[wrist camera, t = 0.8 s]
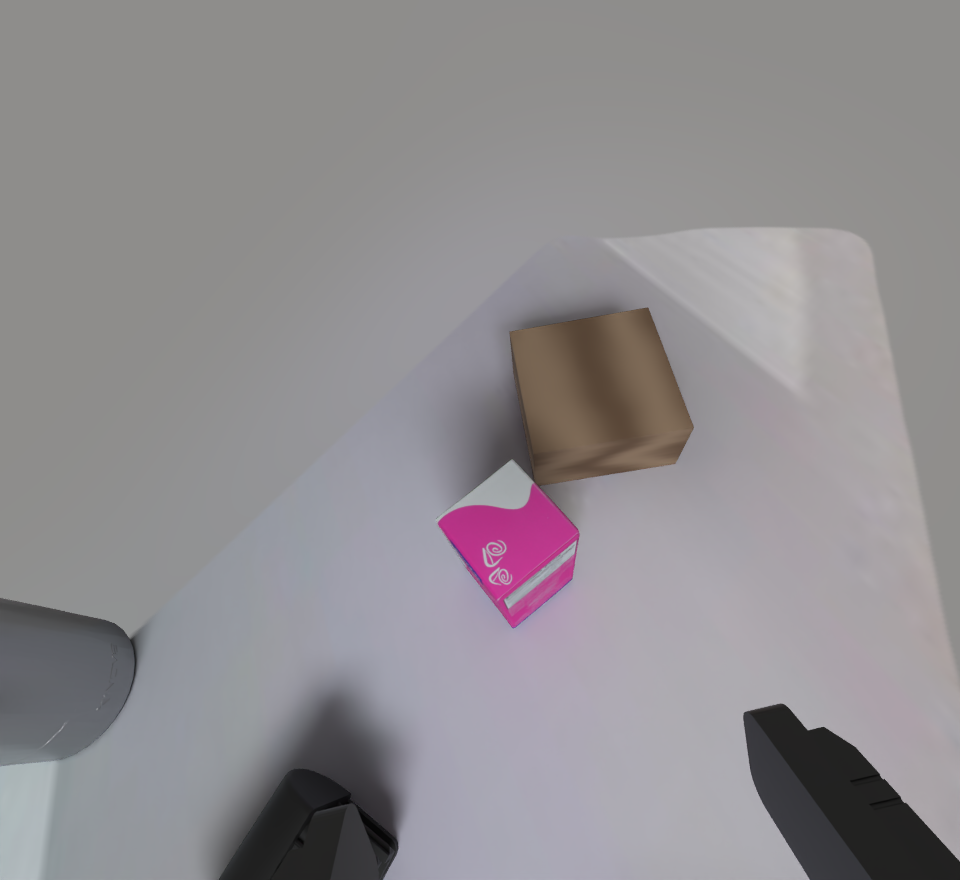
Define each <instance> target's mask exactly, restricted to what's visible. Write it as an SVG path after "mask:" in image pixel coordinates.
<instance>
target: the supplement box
mask: <svg viewBox="0 0 960 880" xmlns="http://www.w3.org/2000/svg"><path fill="white" fill-rule="evenodd" d="M436 522H437V524H438V526H439V527H440V529H441V530H442V532H443V533H444V535H445V537H446V538H447V540H448V541H449V543H450V545H451V546H452V548H453V549H454V551H455V552H456V554H457V555H458V557H459V558H460V560H461V562H462V563H463V564H464V566H465V567H466V569H467V570H468V571H469V572H470V574H471V575H472V576H473V577H474V579H475V580H476V581H477V583H478V584H479V585H480V586H481V588H482V589H483V590H484V592H485V593H486V594H487V595H488V597H489V598H490V599H491V600H492V602H493V603H494V604H495V606H496V607H497V608H498V609H499V611H500V612H501V613H502V615H503V616H504V617H505V619H506V620H507V621H508V623H509V624H510V625H511V627H512V628H515V627H516V626H518V625H519V624H520V623H521V622H522V621H524V620H525V619H526V618H527V617H528V616H529V615H531V614H532V613H533V612H534V611H535V610H537V609H538V608H539V607H540V606H541V605H543V604H544V603H545V602H546V601H547V600H549V599H550V598H551V597H552V596H553V595H554V594H556V593H557V592H558V591H559V590H560V589H561V588H563V587H564V586H565V585H566V584H567V583H568V582H569V581H571V580H572V577H573V570H574V565H575V558H576V551H577V545H578V540H579V534H580V533H579V531H578V529H577V528H576V527H575V525H574V524H573V523H572V522H571V521H570V520H569V519H568V518H567V517H566V515H565V514H564V513H563V512H562V511H561V510H560V509H559V508H558V507H557V506H556V504H555V503H554V502H553V501H552V500H551V499H550V498H549V497H548V496H547V495H546V494H545V493H544V492H543V491H542V490H541V488H540V487H539V486H538V485H537V484H536V483H535V482H534V481H533V480H532V479H531V478H530V477H529V476H528V475H527V474H526V473H525V472H524V471H523V469H522V468H521V467H520V466H519V465H518V464H517V463H516V462H515V461H514V460H513V459H511V460H510V461H509V462H507V463H506V464H505V465H504V466H502V467H501V468H500V469H499V470H497V471H496V472H495V473H494V474H492V475H491V476H490V477H489V478H487V479H486V480H485V481H484V482H482V483H481V484H480V485H479V486H477V487H476V488H475V489H474V490H472V491H471V492H470V493H469V494H467V495H466V496H465V497H463V498H462V499H461V500H460V501H458V502H457V503H456V504H454V505H453V506H452V507H450V508H449V509H448V510H446V511H445V512H444V513H443V514H441V515H440V516H439V517H437V518H436Z"/></svg>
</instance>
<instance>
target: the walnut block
mask: <svg viewBox="0 0 960 880" xmlns="http://www.w3.org/2000/svg"><path fill="white" fill-rule="evenodd" d="M510 342H511V352H512V362H513V372H514V378H515V383H516V389H517V394H518V399H519V404H520V409H521V415H522V420H523V425H524V430H525V435H526V441H527V446H528V451H529V456H530V461H531V466H532V472H533V477H534V482H535V483H536V484H537V485H538V486H541V485H547V484H553V483H559V482H566V481H572V480H578V479H584V478H590V477H597V476H603V475H609V474H615V473H621V472H628V471H634V470H640V469H646V468H652V467H659V466H665V465H671V464H675V463H676V461H677V459H678V457H679V456H680V454H681V452H682V450H683V448H684V446H685V444H686V442H687V440H688V438H689V436H690V434H691V432H692V430H693V428H694V427H693V424H692V421H691V419H690V416H689V413H688V411H687V408H686V406H685V403H684V400H683V398H682V395H681V392H680V390H679V387H678V385H677V382H676V379H675V377H674V374H673V371H672V369H671V366H670V364H669V361H668V358H667V356H666V353H665V350H664V348H663V345H662V343H661V340H660V337H659V335H658V332H657V329H656V327H655V324H654V322H653V319H652V316H651V314H650V311H649V308H643V309H637V310H631V311H626V312H620V313H614V314H608V315H603V316H597V317H591V318H585V319H580V320H574V321H568V322H562V323H557V324H551V325H545V326H540V327H534V328H528V329H522V330H517V331H511V332H510Z"/></svg>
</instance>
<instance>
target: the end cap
mask: <svg viewBox="0 0 960 880" xmlns="http://www.w3.org/2000/svg"><path fill="white" fill-rule="evenodd" d="M350 796H351V793H349V792H348V791H347V790H345V789H344V788H343V787H341V786H340V785H339V784H337V783H336V782H334V781H332V780H331V779H329V778H327V777H325V776H323V775H321V774H319V773H316V772H314V771H310V770H306V769H294V770H291V771H289V772H288V773H287V775H286V776H285V777H284V779H283V780H282V782H281V783H280V785H279V787H278V788H277V790H276V791H275V793H274V794H273V796H272V797H271V799H270V801H269V802H268V804H267V805H266V807H265V808H264V810H263V811H262V813H261V815H260V816H259V818H258V819H257V821H256V822H255V824H254V825H253V827H252V828H251V830H250V832H249V833H248V835H247V836H246V838H245V839H244V841H243V842H242V844H241V846H240V847H239V849H238V850H237V852H236V853H235V855H234V856H233V858H232V859H231V861H230V863H229V864H228V866H227V867H226V869H225V870H224V872H223V873H222V875H221V877H220V878H219V880H271V879H272V878H273V876H274V874H275V873H276V871H277V870H278V868H279V866H280V865H281V863H282V862H283V860H284V859H285V857H286V855H287V854H288V852H289V851H290V850H295V849H299V848H303V845H304V842H305V838H306V835H307V831H308V828H309V824H310V821H311V819H312V816H313V815H314V813H316V812H317V811H321V810H326V809H330V808H334V807H338V806H343V805H347V804H351V803H352V804H354V805H355V806H356V808H357V810H358V812H359V815H360V817H361V820H362V822H363V825H364V828H365V830H366V833H367V835H368V838H369V840H370V843H371V845H372V848H373V850H374V853H375V856H376V859H377V864H378V871H379V880H383V878H384V877H385V875H386V873H387V871H388V869H389V867H390V865H391V864H392V862H393V860H394V858H395V856H396V854H397V851H398V842H397V841H396V839H395V838H394V837H393V836H392V835H391V834H390V833H389V832H388V831H386V830H385V829H384V828H383V827H382V826H381V825H379V824H378V823H377V822H376V821H375V820H373V819H372V818H371V817H370V816H369V815H368V814H366V813H365V812H364V811H363V810H362V809H361V808H359V807H358V806H357V805H356V804H355V803H354V802H352V801H351V800H350V799H349V798H350Z"/></svg>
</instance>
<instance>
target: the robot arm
mask: <svg viewBox="0 0 960 880" xmlns="http://www.w3.org/2000/svg"><path fill="white" fill-rule="evenodd" d="M134 665H135V660H134V651H133V647H132V644H131V642H130V639H129V637H128V636H127V635H126V634H125V632H124V630H122V629H121V628H120V627H119V626H117V625H116V624H115V623H112V622H109V621H106V620H102V619H97V618H93V617H88V616H83V615H78V614H73V613H69V612H65V611H60V610H56V609H50V608H46V607H41V606H37V605H31V604H27V603H22V602H17V601H12V600H7V599H3V598H0V766H6V765H16V764H26V763H36V762H46V761H54V760H61V759H64V758H66V757H69V756H72V755H74V754H76V753H78V752H79V751H81V750H83V749H84V748H86V747H88V746H89V745H90V744H91V743H93V742H94V741H95V740H96V739H97V738H98V737H100V736H101V735H102V734H103V733H104V732H105V730H106V729H107V728H108V727H109V726H110V725H111V723H112V722H113V721H114V719H115V718H116V716H117V715H118V713H119V712H120V710H121V708H122V707H123V705H124V702H125V700H126V698H127V696H128V693H129V691H130V687H131V684H132V680H133V676H134ZM743 719H744V727H745V734H746V742H747V749H748V756H749V764H750V770H751V775H752V778H753V781H754V784H755V787H756V789H757V792H758V794H759V796H760V798H761V800H762V802H763V804H764V806H765V808H766V809H767V811H768V813H769V814H770V816H771V818H772V819H773V821H774V822H775V824H776V826H777V827H778V829H779V830H780V832H781V834H782V835H783V837H784V838H785V840H786V842H787V843H788V845H789V847H790V848H791V850H792V851H793V853H794V855H795V856H796V858H797V859H798V861H799V863H800V864H801V866H802V867H803V869H804V871H805V872H806V874H807V875H808V877H809V879H810V880H960V861H959V860H958V859H957V858H956V857H955V856H954V855H953V854H952V853H951V851H950V850H949V849H948V848H947V847H946V846H945V845H944V844H943V843H942V842H941V841H940V839H939V838H938V837H937V836H936V835H935V834H934V833H933V832H932V831H931V830H930V828H929V827H928V826H927V825H926V824H925V823H924V822H923V821H922V820H921V819H920V818H919V816H918V815H917V814H916V813H915V812H914V811H913V810H912V809H911V808H910V807H909V805H908V804H907V803H904V802H903V801H902V800H901V797H900V796H899V795H898V793H897V792H896V791H895V790H894V789H893V788H892V787H891V786H890V785H889V784H888V782H887V781H886V780H885V779H882V778H881V776H880V774H879V773H878V772H877V770H876V769H875V768H874V767H873V766H872V765H871V764H870V763H869V762H868V761H867V759H866V758H865V757H864V756H863V755H862V754H861V753H860V752H859V751H858V750H857V749H856V747H854V746H853V745H851V744H850V743H848V742H847V741H845V740H843V739H842V738H840V737H839V736H837V735H836V734H834V733H833V732H831V731H829V730H828V729H826V728H825V727H821V728H817V729H812V730H807V729H806V728H805V727H804V726H803V724H802V723H801V722H800V721H799V720H798V718H797V717H796V716H795V715H794V714H793V712H792V711H791V710H790V709H789V708H788V707H787V706H786V705H784V704H777V705H772V706H768V707H764V708H760V709H755V710H751V711H747V712H745V713H744V715H743ZM271 880H379V871H378V864H377V859H376V856H375V853H374V850H373V848H372V845H371V843H370V840H369V838H368V835H367V833H366V830H365V828H364V825H363V822H362V820H361V817H360V815H359V812H358V810H357V808H356V806H355V805H354V804H352V803H351V804H347V805H343V806H338V807H334V808H330V809H326V810H321V811H317V812H316V813H314V815H313V816H312V819H311V821H310V824H309V828H308V831H307V835H306V838H305V842H304V845H303V848H299V849H295V850H290V851H289V852H288V854H287V855H286V857H285V859H284V860H283V862H282V863H281V865H280V866H279V868H278V870H277V871H276V873H275V874H274V876H273V878H272V879H271Z"/></svg>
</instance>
